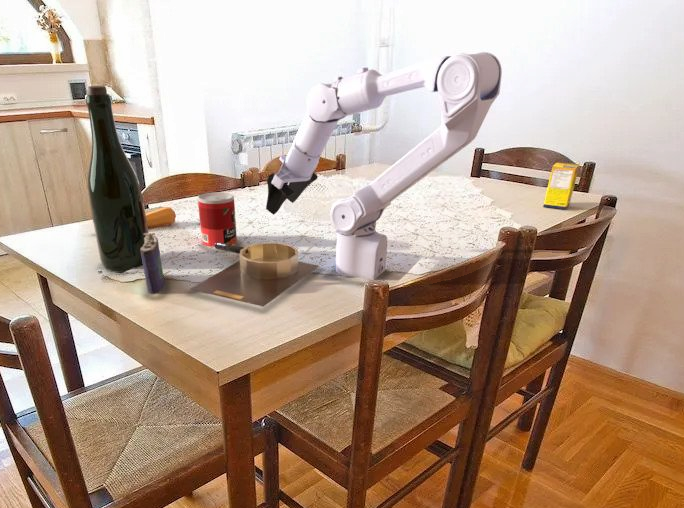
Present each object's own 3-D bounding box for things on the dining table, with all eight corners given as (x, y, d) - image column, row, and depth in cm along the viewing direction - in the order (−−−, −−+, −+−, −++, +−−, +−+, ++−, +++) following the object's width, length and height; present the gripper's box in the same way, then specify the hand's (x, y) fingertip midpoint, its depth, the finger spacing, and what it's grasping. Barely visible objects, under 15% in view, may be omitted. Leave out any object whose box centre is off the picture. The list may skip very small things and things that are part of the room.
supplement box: (569, 205, 148) (580, 163, 142) (565, 210, 144) (577, 167, 138) (546, 202, 151) (556, 161, 145) (542, 207, 146) (552, 165, 140)
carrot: (175, 224, 137) (169, 206, 136) (179, 221, 133) (173, 203, 132) (98, 244, 130) (92, 225, 129) (100, 242, 126) (93, 223, 125)
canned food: (231, 252, 117) (228, 201, 111) (197, 250, 118) (192, 199, 112) (241, 241, 123) (238, 192, 117) (208, 239, 125) (204, 191, 119)
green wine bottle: (119, 277, 105) (83, 89, 87) (92, 265, 111) (53, 86, 93) (163, 263, 111) (138, 85, 94) (135, 252, 117) (106, 83, 100)
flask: (151, 279, 104) (142, 225, 98) (166, 279, 104) (159, 224, 98) (147, 299, 96) (137, 241, 90) (163, 298, 96) (155, 240, 91)
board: (319, 270, 108) (319, 265, 107) (263, 311, 91) (262, 306, 91) (253, 257, 114) (253, 252, 114) (189, 293, 98) (188, 288, 97)
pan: (307, 264, 107) (308, 248, 105) (279, 284, 99) (279, 266, 97) (231, 250, 115) (230, 234, 113) (199, 267, 107) (197, 250, 105)
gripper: (309, 126, 105) (283, 183, 114) (271, 143, 95) (245, 204, 104) (337, 148, 104) (308, 203, 114) (301, 167, 94) (273, 226, 104)
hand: (280, 205), depth 109 cm, fingers open, 7 cm apart
